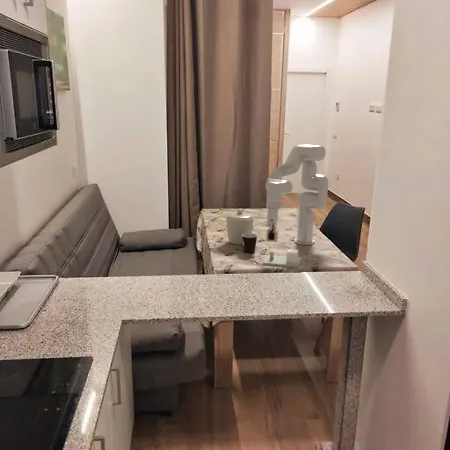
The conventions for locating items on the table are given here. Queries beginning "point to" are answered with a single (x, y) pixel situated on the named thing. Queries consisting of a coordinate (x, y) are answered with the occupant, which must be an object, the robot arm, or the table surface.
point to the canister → (238, 225)
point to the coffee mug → (249, 242)
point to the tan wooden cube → (274, 237)
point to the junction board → (283, 259)
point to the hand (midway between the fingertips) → (272, 237)
